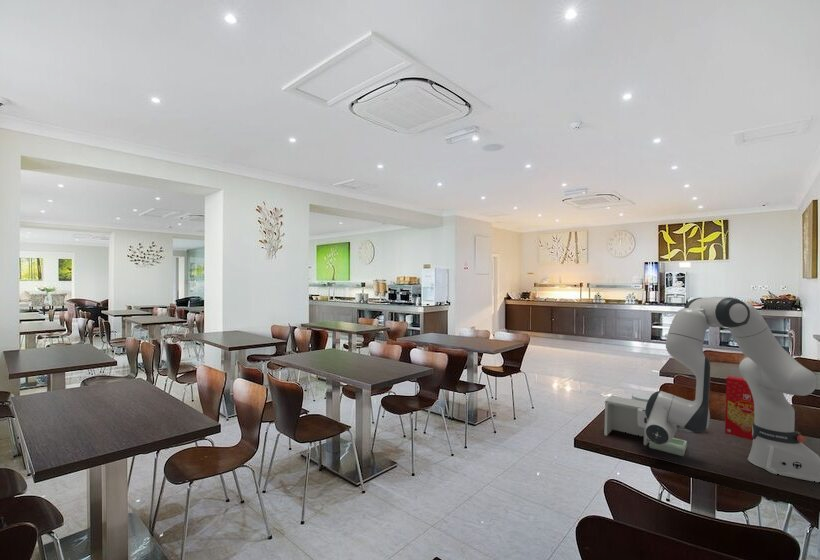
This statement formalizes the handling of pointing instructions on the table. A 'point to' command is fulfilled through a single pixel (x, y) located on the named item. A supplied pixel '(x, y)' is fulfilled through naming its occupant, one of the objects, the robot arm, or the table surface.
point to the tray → (671, 446)
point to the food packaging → (739, 408)
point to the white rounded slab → (641, 397)
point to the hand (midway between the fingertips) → (668, 414)
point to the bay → (623, 416)
